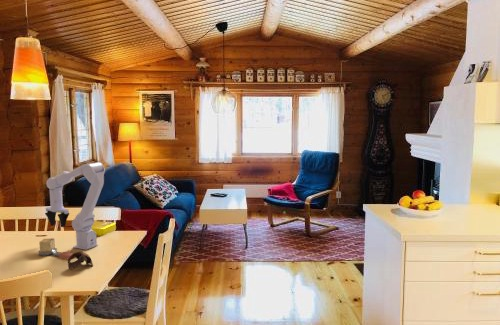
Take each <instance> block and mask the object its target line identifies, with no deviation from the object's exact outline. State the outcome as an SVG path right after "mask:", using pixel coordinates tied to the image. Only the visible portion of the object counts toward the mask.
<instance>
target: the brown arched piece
mask: <svg viewBox="0 0 500 325" xmlns="http://www.w3.org/2000/svg"><path fill="white" fill-rule="evenodd" d="M72 253H73V252H72ZM75 256H76V258H75V259H76V260H74V261H72V260H73V259H72V258H73V257H75ZM84 262H85V264H86V265H90V266H91V268H93V267H94V264H93V260H92V258H91V257H90V255H89V254H88V253H86V252H83V251H82V250H78V251H75V252H74V253H73V254H72V255H71V256H70V257H69V258H68V259H67V265H68V269H69V270H72V269H75V268H77V267H79V266H80V267H81V266H83V263H84Z"/></svg>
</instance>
